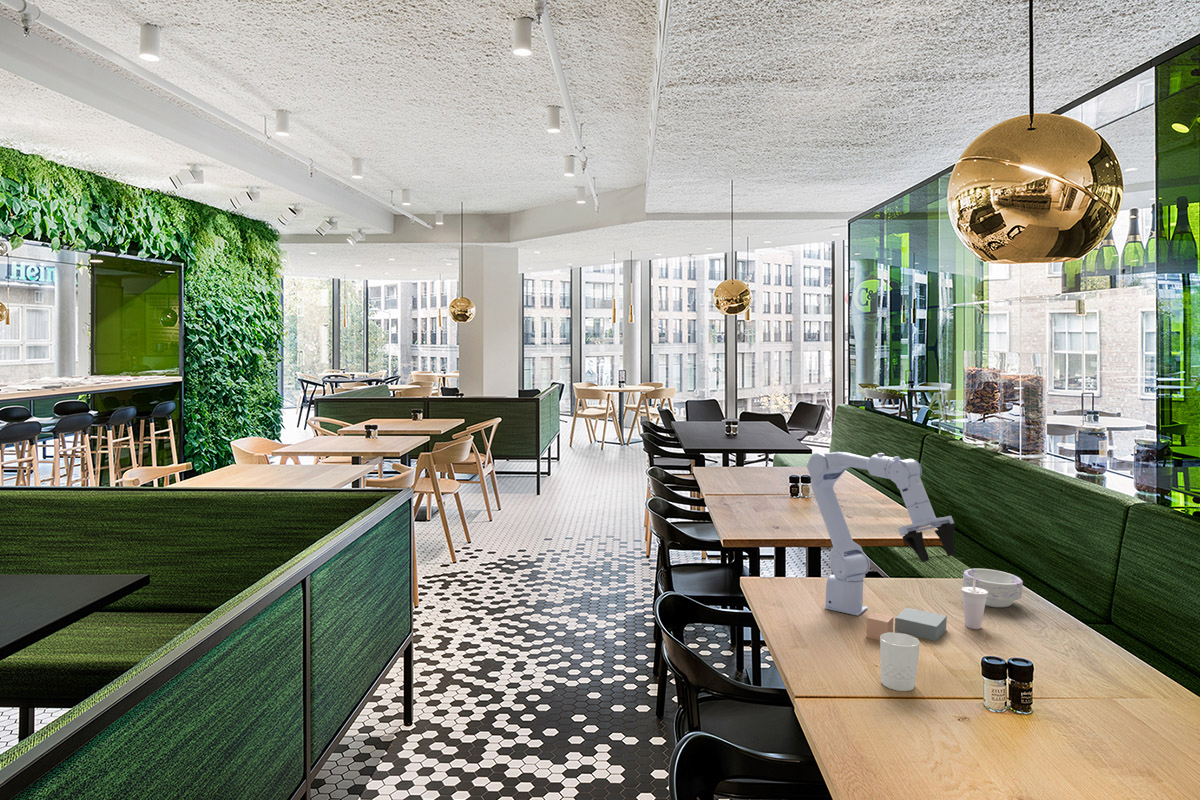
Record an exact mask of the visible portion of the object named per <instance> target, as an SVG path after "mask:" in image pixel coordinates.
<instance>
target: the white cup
mask: <svg viewBox="0 0 1200 800" xmlns="http://www.w3.org/2000/svg"><path fill="white" fill-rule="evenodd" d="M920 642H921V641H920V640H919V638H918V637H916V636H912V635H908V634H903V633H899V632H893V633H884V634H882V635H881V636H880V640H879V646H880V647H879V649H880V652H879V657H880V658H879V660H880V661H879V662H880V665H879V666H880V682H881V684H882V686H884V687H886V688H887V689H890V690H893V691H898V692H910V691H913V690H914V689H915V688H916V680H917V679H916V678H917V673H918V666H919V665H918V664H919V653H920Z"/></svg>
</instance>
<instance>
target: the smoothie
mask: <svg viewBox="0 0 1200 800" xmlns="http://www.w3.org/2000/svg"><path fill="white" fill-rule="evenodd" d="M975 581H976V573H973V587H963V586H962V587H961V590H960V593H961V594H962V604H963V617H964V626H965V627H966V628H968V629H973V630H979V629H981V628H982V623H983V619H984V618H983V617H984V613H985V608H986V606H985V603H986V598H987V597H988V591H986V590H984V589H982V588H977V587H975Z"/></svg>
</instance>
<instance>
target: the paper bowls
mask: <svg viewBox="0 0 1200 800" xmlns="http://www.w3.org/2000/svg"><path fill="white" fill-rule="evenodd" d="M973 573H976V581H975V587H977V588H982V589H984V590H986V591H988V597H987V598H986V603H985V607H992V608H1007V607H1008V608H1009V607H1010V606H1012V605H1013V603H1014V602H1015V601H1017V600H1020V599H1021V598H1022V595H1023V588H1024V587H1023V585H1024V584H1023V583H1024V581H1023V580H1022V579H1021V578H1020V577H1019V576H1017V575H1015V574H1012V573H1008V572H1005V571H1001V570H997V569H989V568H969V569H966V570H964V571H963V578H962V579H963V580H962V588H963V587H973Z"/></svg>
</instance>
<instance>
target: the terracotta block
mask: <svg viewBox="0 0 1200 800" xmlns="http://www.w3.org/2000/svg"><path fill="white" fill-rule="evenodd" d="M894 619H895V618H894V616H891V615H887V614H881V613H879V612H878V613H877V612H872V613H871V614H870V615H869V616H868V617H866V636H865V637H866V638H868V639H873V640H877V641H880V636H881V635H882V634H884V633H894Z"/></svg>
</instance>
